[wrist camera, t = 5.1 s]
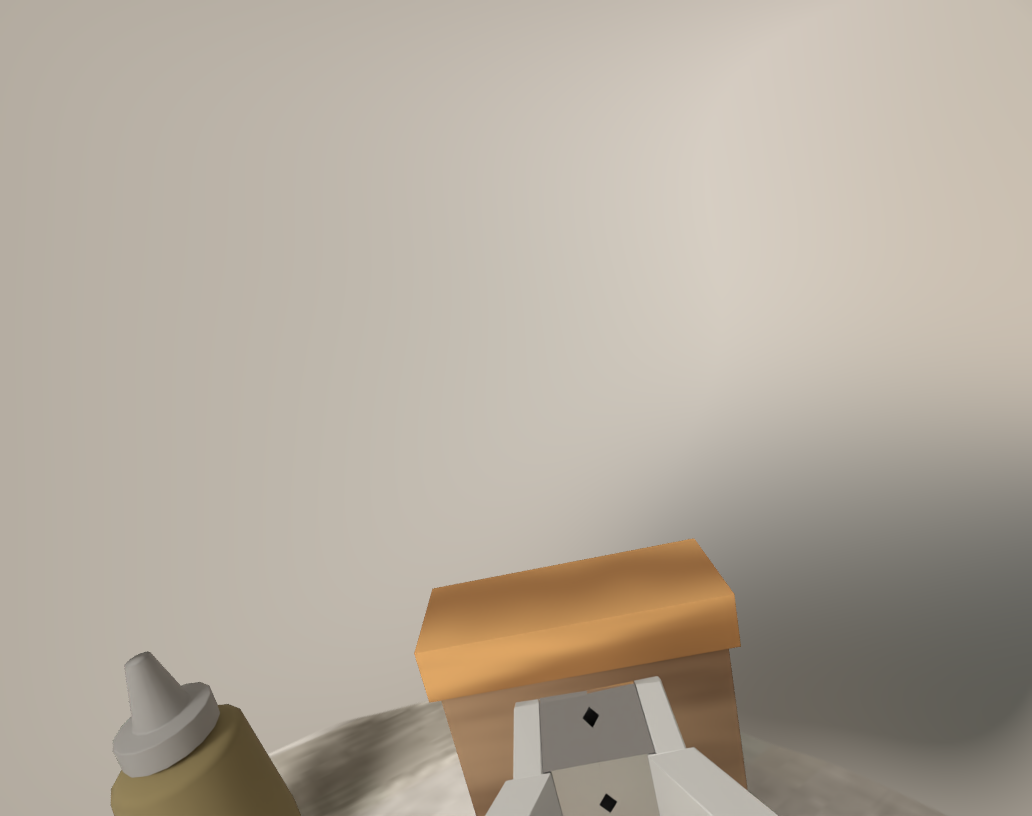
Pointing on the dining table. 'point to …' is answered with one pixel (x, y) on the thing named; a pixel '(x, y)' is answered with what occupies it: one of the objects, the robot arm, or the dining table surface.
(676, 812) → the robot arm
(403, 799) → the dining table surface
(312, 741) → the dining table surface
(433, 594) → the walnut paddle
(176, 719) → the squeeze bottle
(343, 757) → the dining table surface
